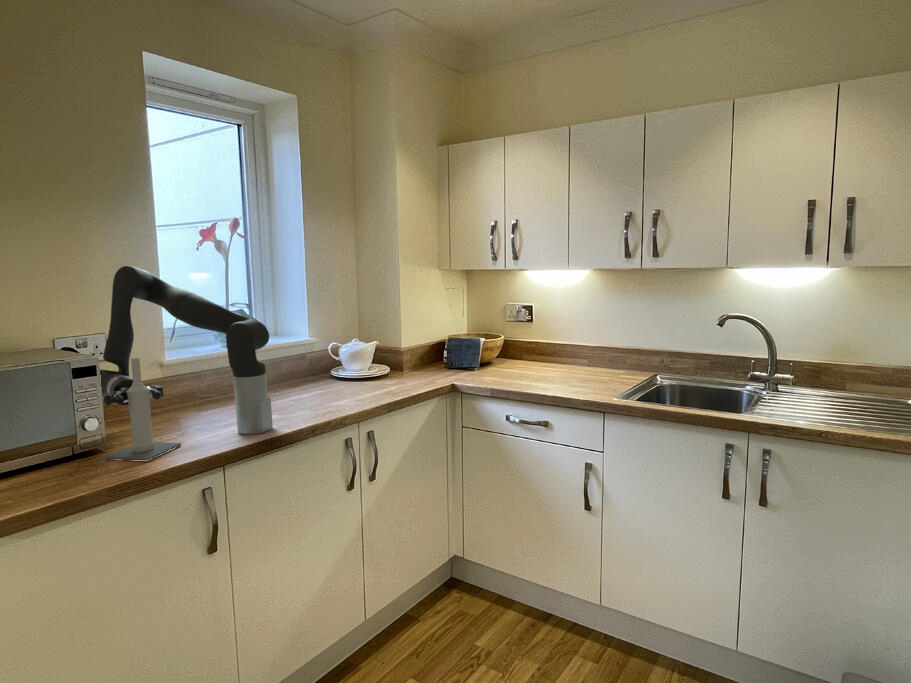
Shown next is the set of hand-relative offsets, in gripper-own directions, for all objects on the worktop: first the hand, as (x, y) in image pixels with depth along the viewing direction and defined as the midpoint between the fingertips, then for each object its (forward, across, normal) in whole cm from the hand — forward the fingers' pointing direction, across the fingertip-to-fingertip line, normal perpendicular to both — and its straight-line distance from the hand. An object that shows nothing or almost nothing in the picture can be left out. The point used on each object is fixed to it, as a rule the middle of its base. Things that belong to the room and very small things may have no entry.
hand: (140, 398), depth 153 cm
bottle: (-2, 0, +15) cm, 15 cm away
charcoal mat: (-2, 0, +15) cm, 15 cm away
